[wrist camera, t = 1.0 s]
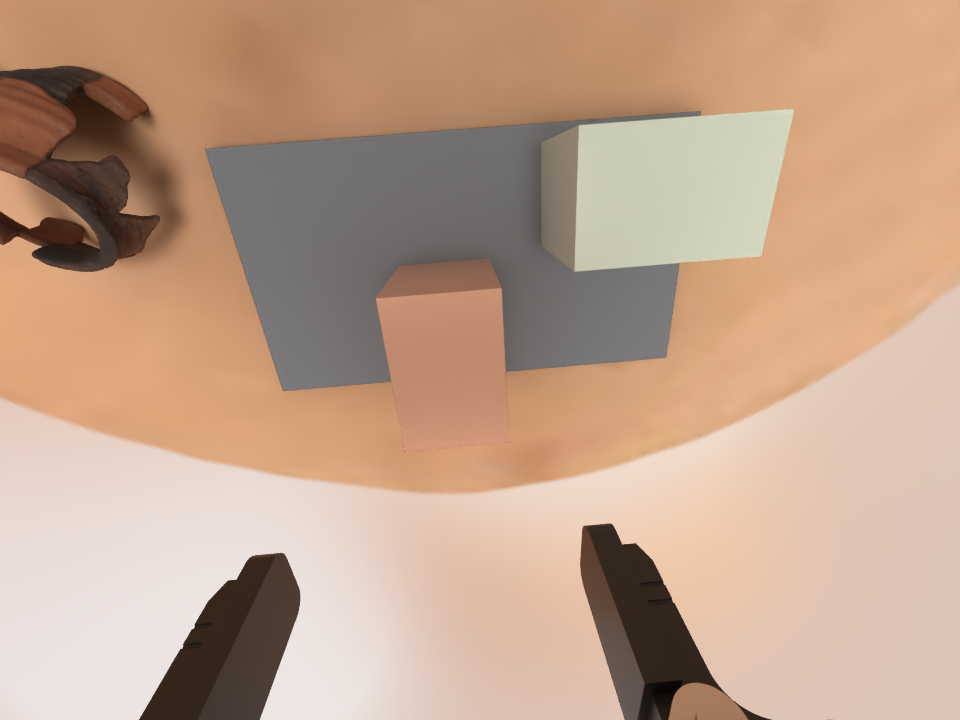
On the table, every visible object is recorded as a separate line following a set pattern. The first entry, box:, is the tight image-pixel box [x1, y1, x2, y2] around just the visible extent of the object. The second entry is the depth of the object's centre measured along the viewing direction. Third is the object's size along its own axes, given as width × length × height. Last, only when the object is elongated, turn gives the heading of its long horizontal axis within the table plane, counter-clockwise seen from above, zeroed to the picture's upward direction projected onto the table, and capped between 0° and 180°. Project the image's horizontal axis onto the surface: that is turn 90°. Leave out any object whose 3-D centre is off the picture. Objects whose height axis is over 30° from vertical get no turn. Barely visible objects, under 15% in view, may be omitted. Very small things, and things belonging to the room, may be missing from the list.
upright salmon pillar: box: [376, 258, 509, 452], centre depth 24 cm, size 9×6×8 cm, turn 4°
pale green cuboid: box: [541, 109, 794, 272], centre depth 21 cm, size 9×6×8 cm, turn 94°
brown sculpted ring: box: [0, 66, 160, 272], centre depth 21 cm, size 12×10×8 cm
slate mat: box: [205, 111, 701, 391], centre depth 27 cm, size 16×29×1 cm, turn 94°
